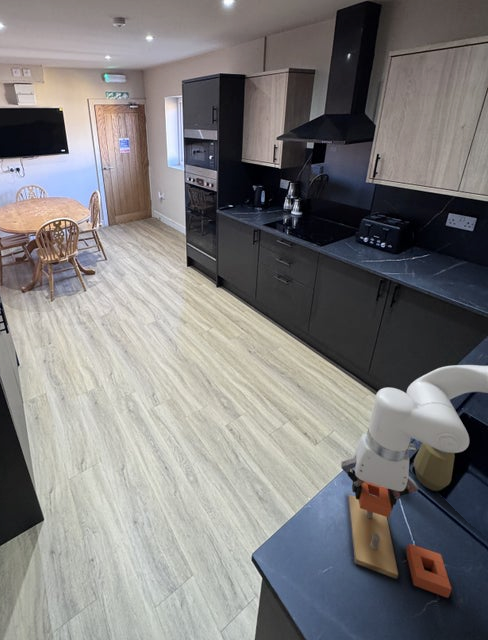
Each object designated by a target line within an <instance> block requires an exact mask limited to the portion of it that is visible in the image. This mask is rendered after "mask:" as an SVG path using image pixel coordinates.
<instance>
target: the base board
mask: <svg viewBox="0 0 488 640" xmlns="http://www.w3.org/2000/svg"><path fill="white" fill-rule="evenodd" d="M347 500H348V511H349V519H350V528H351V529H350V530H351V536H352V538H351V539H352V546H353V556H354V564H356V565H359V566H361V567H363V568H367V569H370V570H372V571H375V572H377V573H380V574H382V575H385V576H388V577H390V578H393V579H398V577H399V570H398V566H397V561H396V556H395V552H394V547H393V546H394V545H393V541H392V537H391V531H390V526H389V521H388V517H385V516H382V515H379V514H376V513H373V512H370V511H367V510H364V509H361V508H360V506H359V500H357V499H356V496H355V495H353V494H350V493H349V494H348V497H347Z"/></svg>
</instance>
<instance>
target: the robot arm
mask: <svg viewBox="0 0 488 640" xmlns="http://www.w3.org/2000/svg"><path fill="white" fill-rule="evenodd" d="M468 393H485V394H488V365H476V364H457V365H456V364H455V365H446V366H441V367H438V368H436V369H433V370H432V371H429V372H428V373H426V374H423V375H421V376H419V377H418V378H416V379H415V380H414V381H413V382H411V383H410V384H409V385H408V387H407V389H406V392H405V391H403V390H401V389H398V388H395V387H383V388H380V389H379V390H378V391H377V392H376V394H375V397H374V402H373V406H372V410H371V415H370V419H369V424H368V428H367V432H364V433H363V434H362V435H361V436H360V438H359V439H358V442H357V444H356V446H355V450H354V453H353V456H352V458H349V459H346V460H342V461H341V462H340V466H341V467H340V468H341V469H342V471H344V473H345V474H347V476H348V478H349V479H350V480H351V481H352V484H351V485H352V486H351V491H352V493H354V496H356V499H357V500H359V499H360V494H361V491H362V486H361V484H362V483H364V482H365V481H366V482H369V483H372V484H375V485H378V486H382V487H385V488H387V490H388V494H389V499H390V503H391V508H392V510H393V508H394V506H396V504H397V502H398V500H401V497H402V496H406V495H409V494H410V493H415V492H418V491H419V487H418V484H417V482H416V481H415V480H414V479H413V478H412V477H411V476H410V475H409V474H410V454H409V452H410V451H414V452H416V450H417V449H416V444H415V443H412V441H411V440H412V439H413V440H416V441H417V442H419V443H421V444H422V443H424V444H427V445H429V446H431V447H433V448H436V449H438V450H441V451H445V452H451V453H454V454H457V453H462V452H464V451H466V450H467V448H469V445H470V436H469V433H468V431H467V429H466V427H465V425H464V424H463V422H462V420H461V418H460V416H459V414H458V413H457V411H456V409H455V407H454V405H453V404H452V402H451V399H454V398H456V397H459V396H461V395H464V394H468ZM353 468H354V469H353Z"/></svg>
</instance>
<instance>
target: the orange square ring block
mask: <svg viewBox="0 0 488 640" xmlns="http://www.w3.org/2000/svg"><path fill="white" fill-rule="evenodd" d="M405 553H406V558H407V563H408V567H409V571H410V574H411V575H410V576H411V579H412V585H413V586H415V587H417V588H419V589H422V590H426V591H428V592H430V593H433V594H436V595H439V596H441V597H444V598H447V599H449V597H450V595H451V592H452V586H451V583H450V580H449V579H450V578H449V577H448V573H447V570H446V567H445V563H444V560H443V557H442V554H441V553H438V552H436V551H432V550H429V549H426V548H423V547H421V546H418V545H415V544H412V543H408V544H407V547H406V551H405ZM425 568H426V569H429V570H430V571H429V570H426V569H425Z"/></svg>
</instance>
